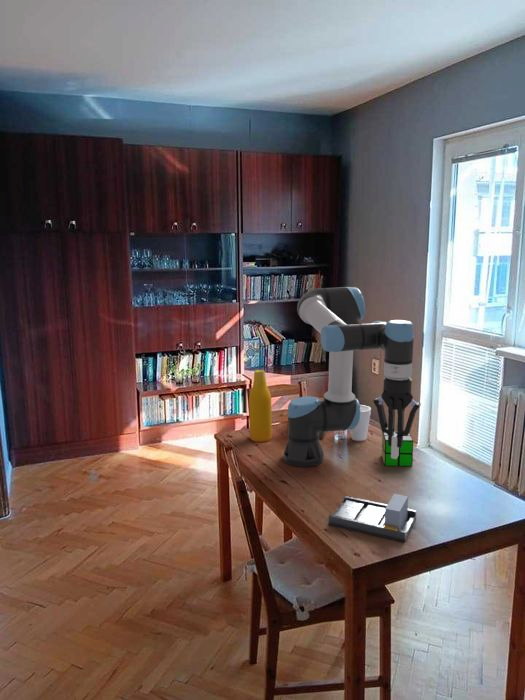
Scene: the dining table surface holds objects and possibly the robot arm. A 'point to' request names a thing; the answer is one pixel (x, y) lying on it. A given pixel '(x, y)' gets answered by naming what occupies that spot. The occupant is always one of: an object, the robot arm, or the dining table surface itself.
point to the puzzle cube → (404, 452)
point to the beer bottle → (260, 409)
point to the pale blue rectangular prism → (396, 511)
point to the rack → (369, 519)
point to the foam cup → (362, 424)
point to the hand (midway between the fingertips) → (394, 456)
